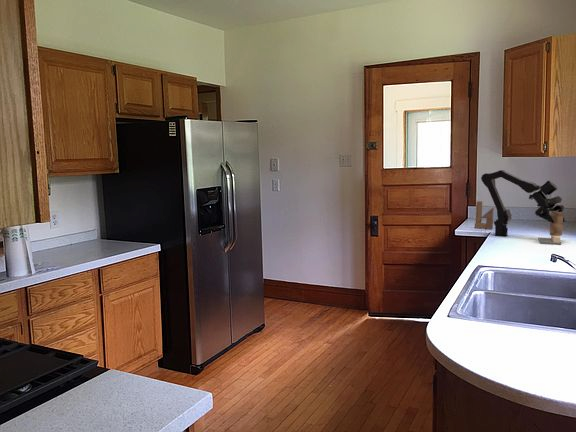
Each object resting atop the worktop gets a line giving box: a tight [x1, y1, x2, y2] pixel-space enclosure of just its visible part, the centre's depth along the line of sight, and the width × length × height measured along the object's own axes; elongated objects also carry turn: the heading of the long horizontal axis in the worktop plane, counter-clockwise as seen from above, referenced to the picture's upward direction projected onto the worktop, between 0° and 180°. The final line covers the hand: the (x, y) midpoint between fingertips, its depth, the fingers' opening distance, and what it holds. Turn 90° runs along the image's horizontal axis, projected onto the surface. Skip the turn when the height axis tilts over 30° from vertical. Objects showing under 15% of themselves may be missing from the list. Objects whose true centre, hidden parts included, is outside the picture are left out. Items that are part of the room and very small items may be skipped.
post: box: [549, 211, 564, 237], centre depth 277 cm, size 4×4×13 cm
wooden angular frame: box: [474, 200, 495, 230], centre depth 328 cm, size 4×11×18 cm, turn 56°
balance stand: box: [537, 235, 562, 246], centre depth 280 cm, size 10×16×4 cm, turn 158°
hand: (558, 222), depth 276 cm, fingers open, 9 cm apart
